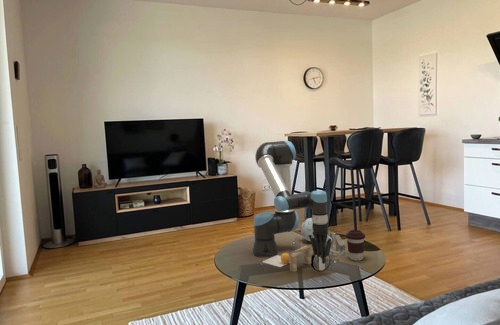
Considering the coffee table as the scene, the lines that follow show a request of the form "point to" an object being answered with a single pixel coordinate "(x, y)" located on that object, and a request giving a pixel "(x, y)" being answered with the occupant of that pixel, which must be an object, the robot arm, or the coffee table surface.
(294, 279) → the coffee table surface
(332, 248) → the ceramic cottage
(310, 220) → the puzzle ball
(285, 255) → the ball
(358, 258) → the coffee cup
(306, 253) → the bridge
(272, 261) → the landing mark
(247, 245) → the coffee table surface
